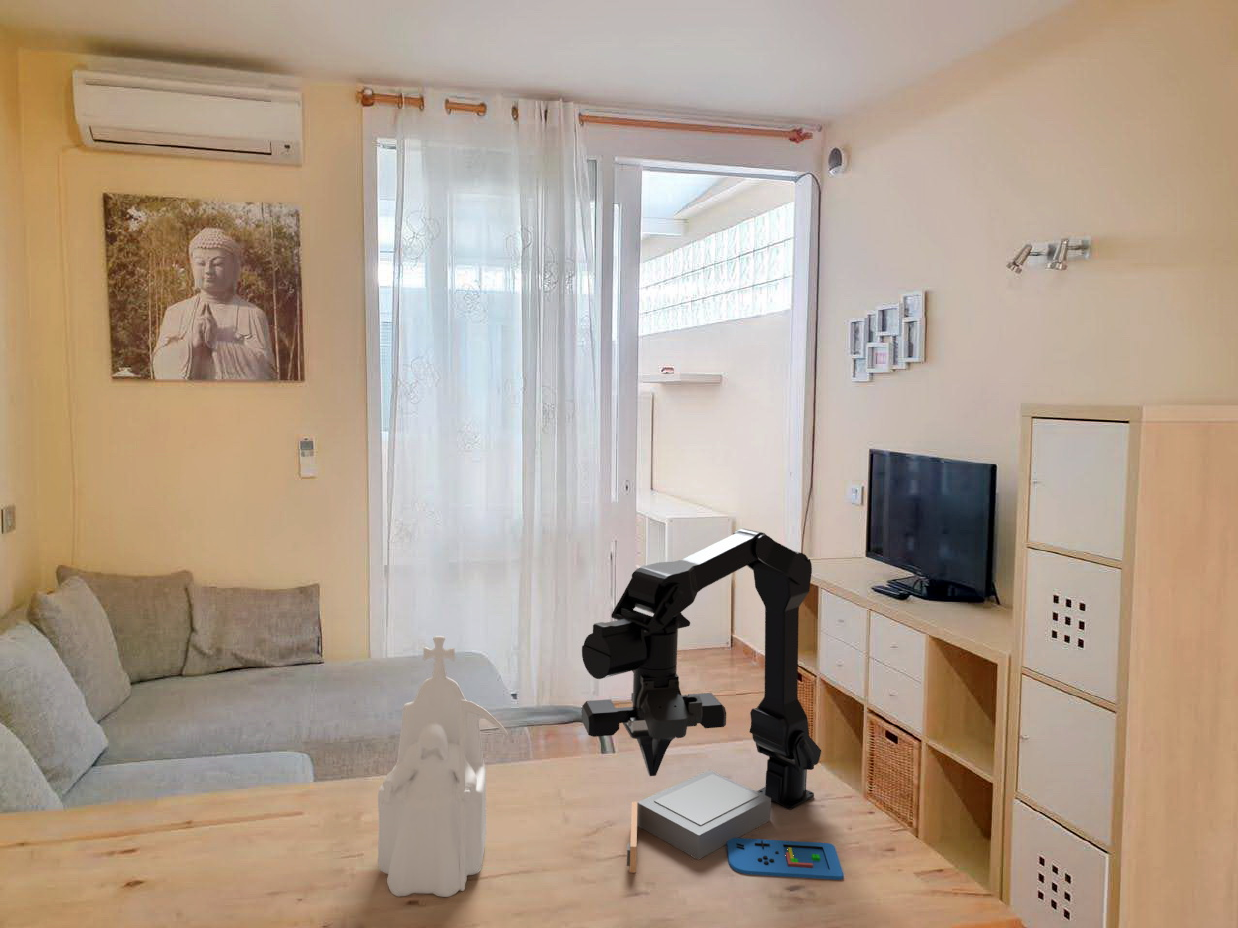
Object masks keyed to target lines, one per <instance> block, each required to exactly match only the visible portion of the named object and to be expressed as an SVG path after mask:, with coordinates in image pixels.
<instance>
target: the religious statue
mask: <svg viewBox="0 0 1238 928" xmlns="http://www.w3.org/2000/svg"><path fill="white" fill-rule="evenodd" d="M432 640H433V643H434V648H429V647H428V646H424V647H423V657H422V660H423V661H427V660H428V659H430V658H434V664H433V670H432V676H431V677H429V678H427V679H424V681H423V682H422V683H421V685H420V686H419V689H418V691H417V693H416V696H415V698H414V699H413V701H411V702H409V701H408V702H405V704H404V705H403V707H402V715H401V723H400V725H401V726H400V734H399V743H398V745H399V746H398V752H397V760H396V764H395V765H394V766H393V768H392V769H391V771H390V772H388V773H387V775H386V776H385V778H384V779H383V782H382V783H381V785H380V787H379V789H378V792H377V793H378V794H377V807H378V808H377V809H378V810H377V811H378V843H377V844H378V846H377V853H378V854H377V864H378V869H379V871H381V872H382V873H384V874H387V879H386V883H387V887H388V890H389V891H390V892H391V894H392V895H394V896H396V897H407V896H409V895H413V894H434V895H435V896H437V897H443V898H449V897H452V896H454V895H455V894H457V893H458V892H459V891H460V892H463V891H465V890H466V883H467V880H468V877H467V876H472V875H473V876H474V875H477V874H478V873H479V872H480V871H481V870H482V866H483V865H482V864H483V860H484V852H485V846H486V840H487V839H486V838H487V837H486V836H487V805H486V804H487V795H486V794H487V777H486V776H487V772H486V771H487V770H486V765H485V761H484V756H483V755H484V754H483V746H482V735H481V734H482V733H481V727H480V719H479V718H480V717H481V718H483V719H484V720H486V721H487V722H489V723H491V724H492V725H494V726H495V727H496V728H497V729H499V730H500V731H501V732H502V733H503V734H504V735H506V737H507V738H508V737H509V733H508V731H507V730H506V728H505V727H504V726H503V725H502V724H501V723H500V721H498V720H497V719H496V718H495V717H494V716H493V714H491V713H490V712H489V711H488V710H487V709H485V708H484V707H482V706H481V705H478V704H477V703H476V702H473V701H471V700H467V699H466V696H465V694H464V693H463V691H462V689H461V687H460V685H459V683H457V681H456V680H454V679H452V678H450V677H448V676H447V670H446V666H445V659H449V660H450V661H453V662H454V661H455V660H456V650H455V649H456V648H455V646H454V647H450V648H448V649H446V648H444V642H445V640H446V637H445V636H444V635H434V636H433V639H432Z"/></svg>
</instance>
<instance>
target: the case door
mask: <svg viewBox="0 0 1238 928" xmlns="http://www.w3.org/2000/svg"><path fill="white" fill-rule="evenodd" d="M637 802H638V801H631V815H630V816H631V817H630V818H631V819H630V820H631V821H630V822H631V823H630V843H627V844H626V845H627V846H626V847H627V848H626V867H629V873H636V872H637V843H638V842H637V840H638V839H637V838H638V837H637V834H638V826H637Z"/></svg>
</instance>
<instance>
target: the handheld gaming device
mask: <svg viewBox="0 0 1238 928" xmlns="http://www.w3.org/2000/svg"><path fill="white" fill-rule="evenodd" d="M726 849H727V850H726V851H727V859H728V860H729V861H728V866H729V867H730V868H731V869H732V870H734V871H736V872H737V873H740V874H742V875H743V874H744V875H749V876H750V875H754V876H769V877H787V878H800V879H801V878H802V879H820V880H832V881H833V880H835V881H836V880H837V881H841V880H843V879H844V874H845V873H844V871H843V868H842V865H841V863H840V859H839V856H838V853H837V850H836V846H835V845H834V844H832V843H829V842H817V841H815V842H812V841H797V840H795V841H794V840H782V839H781V840H779V839H765V838H764V839H763V838H761V839H760V838H745V837H739V838H732V839H731V840H729V841H727V844H726ZM787 849H788V850H787ZM785 855H786V856H785ZM793 855H794V856H793Z"/></svg>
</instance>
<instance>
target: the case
mask: <svg viewBox="0 0 1238 928" xmlns="http://www.w3.org/2000/svg"><path fill="white" fill-rule="evenodd" d="M636 802H637V827H639V828H640V829H643V830H644V831H645V832H648V833H649V834H652V835H654V837H657V838H658V839H660V840H662V841H664V842H665V843H667V844H669V845H671V846H673V847H674V848H677V849H678V850H680V851H681V852H683V851H684V852H683V853H684V854H685V853H686V854H687V855H689V856H690V855H692V856H693V857H692V856H691V857H692V858H694V857H695V858H694V859H696V858H697V859H696V860H698V859H699V860H701V859H702V857H703V856H704V857H706V856H708V855H709V854H712V853H713V852H715V851H717V850H719V849H721V848H722V847H725V846H727V841H729V840H731V839H732V838H742V837H743V836H745V835H746V834H748V833H750V832H751V831H753V829H754V830H756V829H757V828H759V827H762V826H763V825H765V824H766V823H768V822H770V821H771V813H772V812H771V810H772V801H771V798H770V797H768V796H766V795H763V794H761V793H759V792H758V790H755V789H752V788H751V787H748V786H746V785H744V784H741V783H740V782H738V781H735V780H733V779H731V778H728V777H726V776H724V775H722V774H719V773H717V772H715V771H713V770H711V769H708V770H706V771H704V772H702V773H699V774H697V775H695V776H692V777H690V778H688V779H686V780H683V781H681V782H679V783H677V784H675V785H672V786H670V787H668V788H665V789H663V790H660V791H659V792H656V793H655V794H653V795H650V796H648V797H646V798H643V799H641V800H639V801H636ZM755 828H756V829H755ZM744 834H745V835H744ZM742 835H743V836H742ZM705 855H706V856H705ZM704 857H703V858H704ZM700 858H701V859H700Z"/></svg>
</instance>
